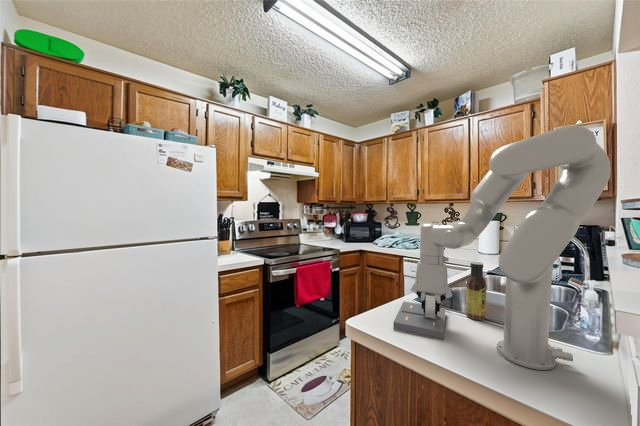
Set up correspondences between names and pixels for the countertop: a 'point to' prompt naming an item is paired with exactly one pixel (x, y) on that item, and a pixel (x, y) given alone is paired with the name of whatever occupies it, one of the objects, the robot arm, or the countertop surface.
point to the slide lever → (430, 306)
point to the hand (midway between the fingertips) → (430, 311)
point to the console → (419, 321)
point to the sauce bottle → (476, 293)
